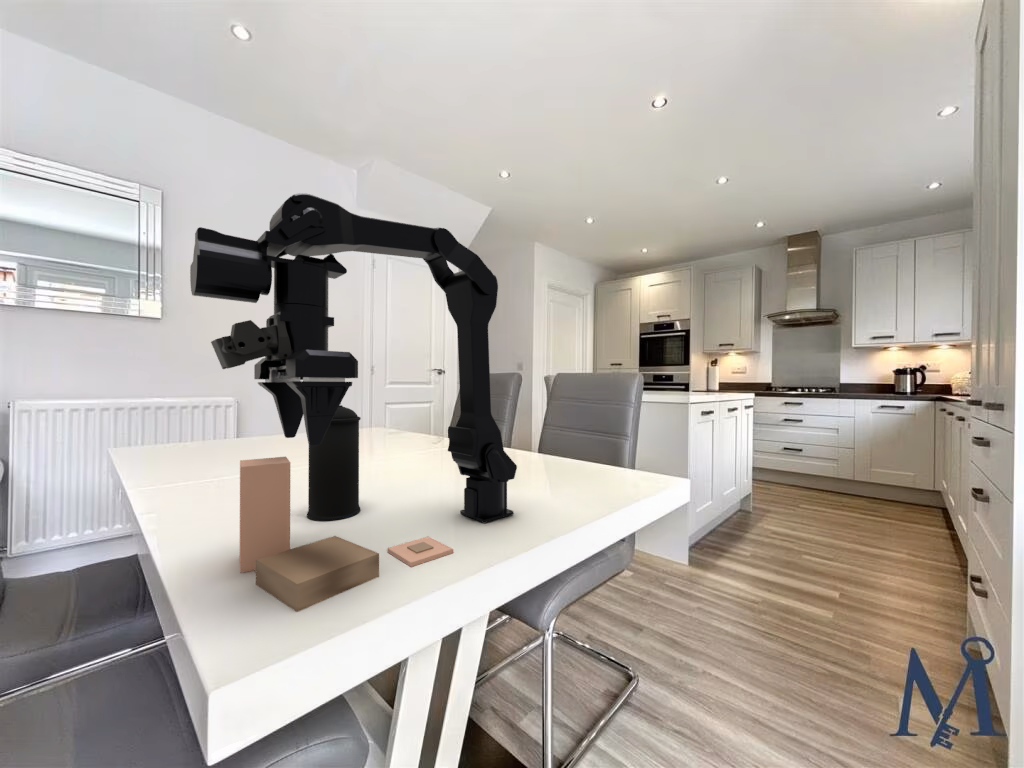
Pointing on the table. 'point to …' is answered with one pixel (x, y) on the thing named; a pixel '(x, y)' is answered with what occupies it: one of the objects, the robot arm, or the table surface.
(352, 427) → the aerosol can
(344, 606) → the table surface
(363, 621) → the table surface
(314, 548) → the walnut slab
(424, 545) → the tile
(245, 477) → the terracotta block
